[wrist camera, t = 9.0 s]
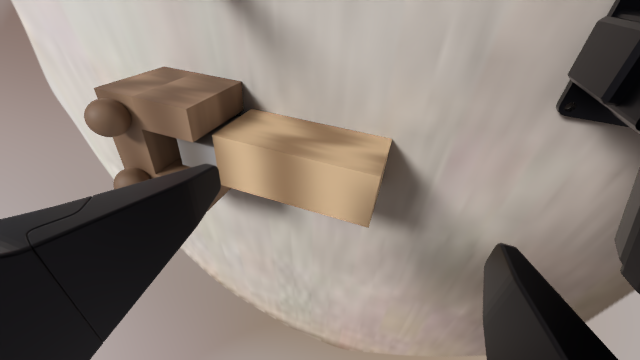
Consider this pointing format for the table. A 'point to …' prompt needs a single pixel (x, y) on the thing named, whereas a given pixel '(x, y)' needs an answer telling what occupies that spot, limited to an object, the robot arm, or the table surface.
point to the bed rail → (296, 163)
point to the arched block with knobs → (160, 118)
